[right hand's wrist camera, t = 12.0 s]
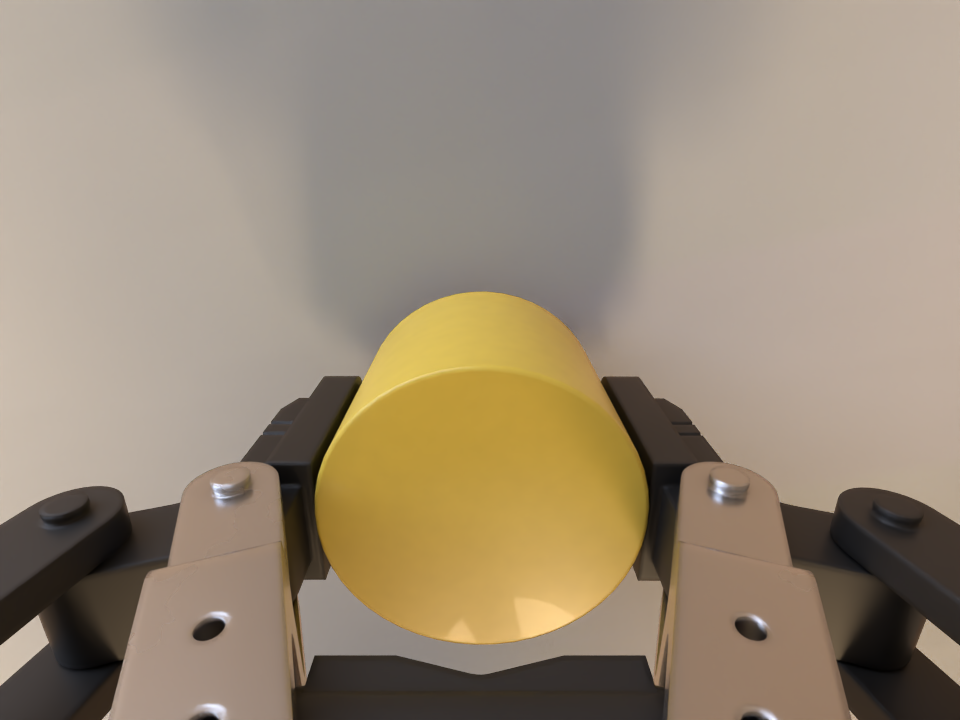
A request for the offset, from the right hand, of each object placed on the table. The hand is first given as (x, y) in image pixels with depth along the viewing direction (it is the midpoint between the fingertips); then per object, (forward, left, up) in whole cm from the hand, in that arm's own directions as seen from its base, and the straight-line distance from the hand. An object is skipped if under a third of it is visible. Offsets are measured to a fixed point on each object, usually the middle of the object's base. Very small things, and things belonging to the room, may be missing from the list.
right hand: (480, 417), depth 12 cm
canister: (0, 0, -1) cm, 1 cm away
